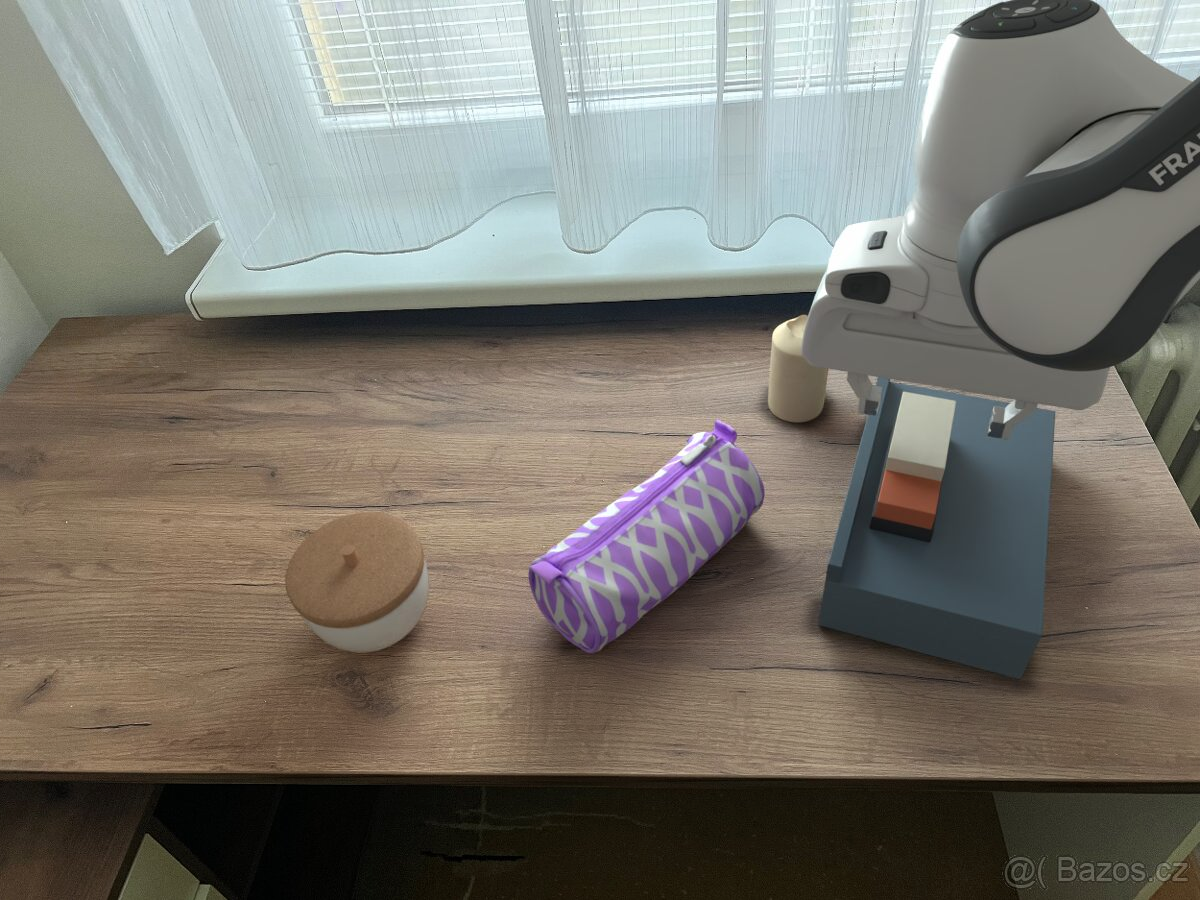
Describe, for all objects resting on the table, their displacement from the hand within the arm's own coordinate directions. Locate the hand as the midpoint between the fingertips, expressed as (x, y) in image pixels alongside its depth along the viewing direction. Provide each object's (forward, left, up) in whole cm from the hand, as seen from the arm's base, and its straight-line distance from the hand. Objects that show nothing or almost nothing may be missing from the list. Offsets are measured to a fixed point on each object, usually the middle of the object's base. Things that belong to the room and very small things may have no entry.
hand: (931, 421), depth 67 cm
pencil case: (+19, +11, -13) cm, 26 cm away
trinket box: (+39, +23, -13) cm, 48 cm away
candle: (+12, -13, -13) cm, 22 cm away
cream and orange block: (0, 0, -7) cm, 7 cm away
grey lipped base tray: (-3, 0, -13) cm, 13 cm away
